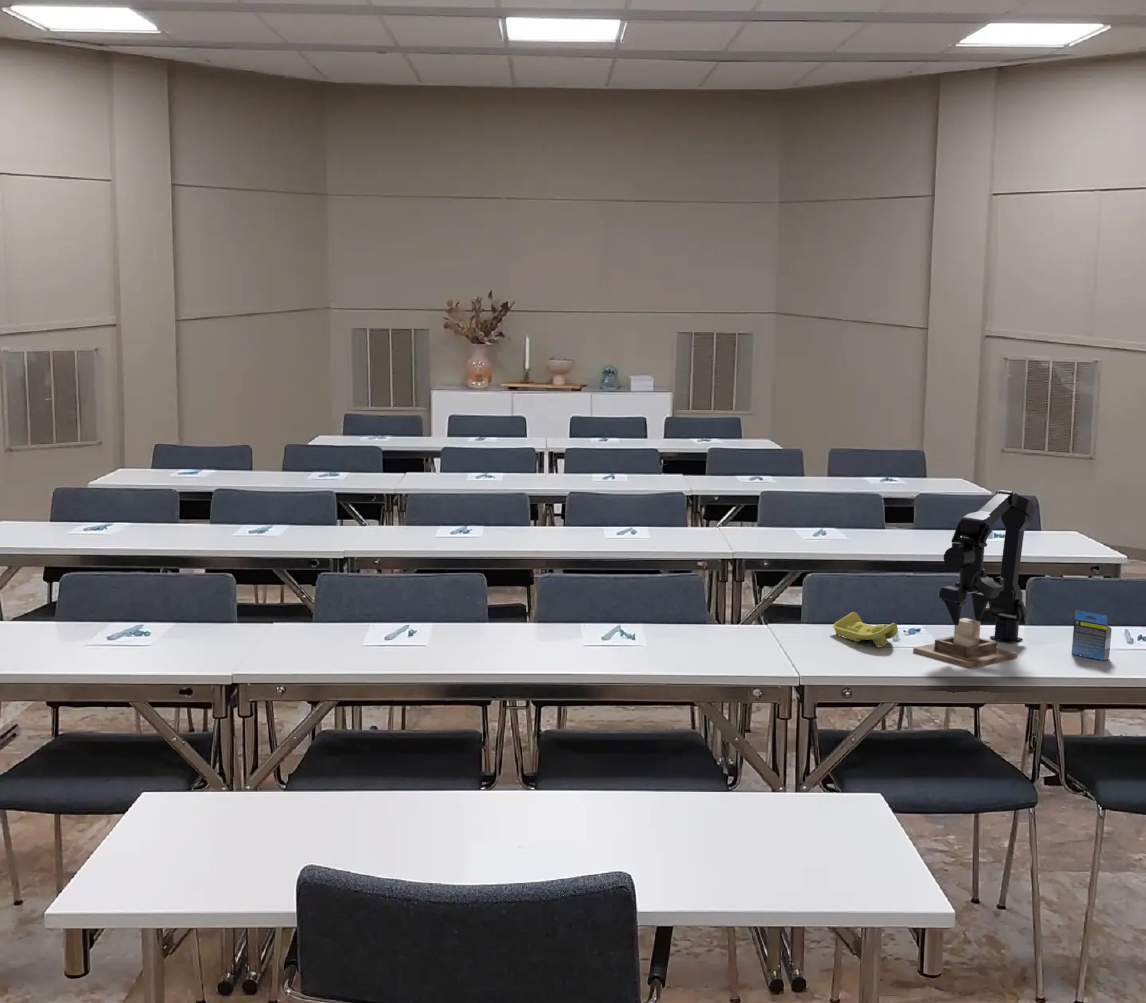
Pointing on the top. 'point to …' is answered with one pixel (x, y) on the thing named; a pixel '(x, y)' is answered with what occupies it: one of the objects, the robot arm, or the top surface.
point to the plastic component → (864, 630)
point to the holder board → (965, 652)
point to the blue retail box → (1091, 636)
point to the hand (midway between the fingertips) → (967, 622)
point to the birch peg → (967, 632)
